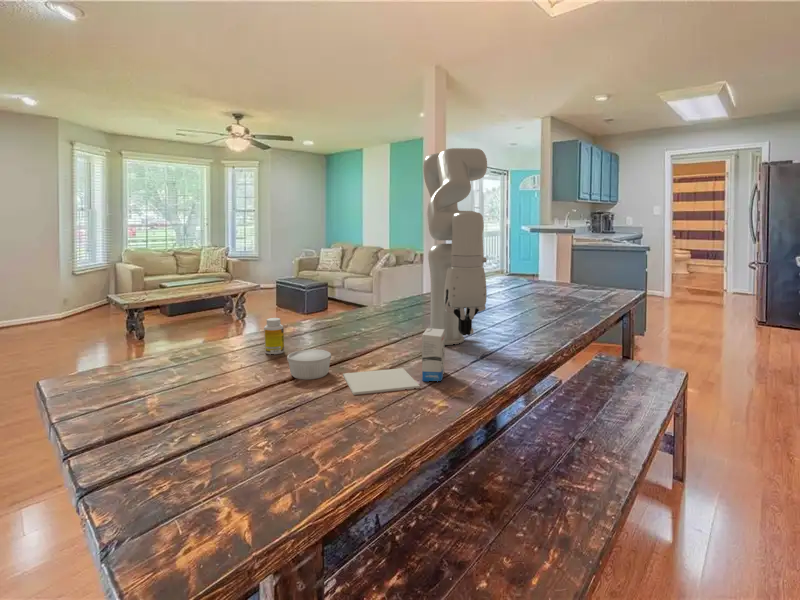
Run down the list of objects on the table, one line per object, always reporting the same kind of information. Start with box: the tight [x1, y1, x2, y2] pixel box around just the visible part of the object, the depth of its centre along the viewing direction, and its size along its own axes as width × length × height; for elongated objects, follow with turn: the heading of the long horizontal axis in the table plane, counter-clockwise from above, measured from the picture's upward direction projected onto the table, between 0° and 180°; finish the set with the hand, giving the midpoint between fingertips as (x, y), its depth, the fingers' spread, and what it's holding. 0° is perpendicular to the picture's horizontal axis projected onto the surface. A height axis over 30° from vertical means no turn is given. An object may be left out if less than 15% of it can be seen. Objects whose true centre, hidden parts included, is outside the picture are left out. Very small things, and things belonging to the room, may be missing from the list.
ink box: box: [421, 327, 446, 383], centre depth 122 cm, size 9×5×12 cm, turn 168°
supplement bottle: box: [263, 317, 285, 355], centre depth 144 cm, size 6×6×10 cm
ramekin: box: [286, 348, 332, 380], centre depth 125 cm, size 11×11×5 cm
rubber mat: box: [342, 367, 421, 396], centre depth 119 cm, size 16×14×1 cm
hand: (464, 333), depth 124 cm, fingers closed
